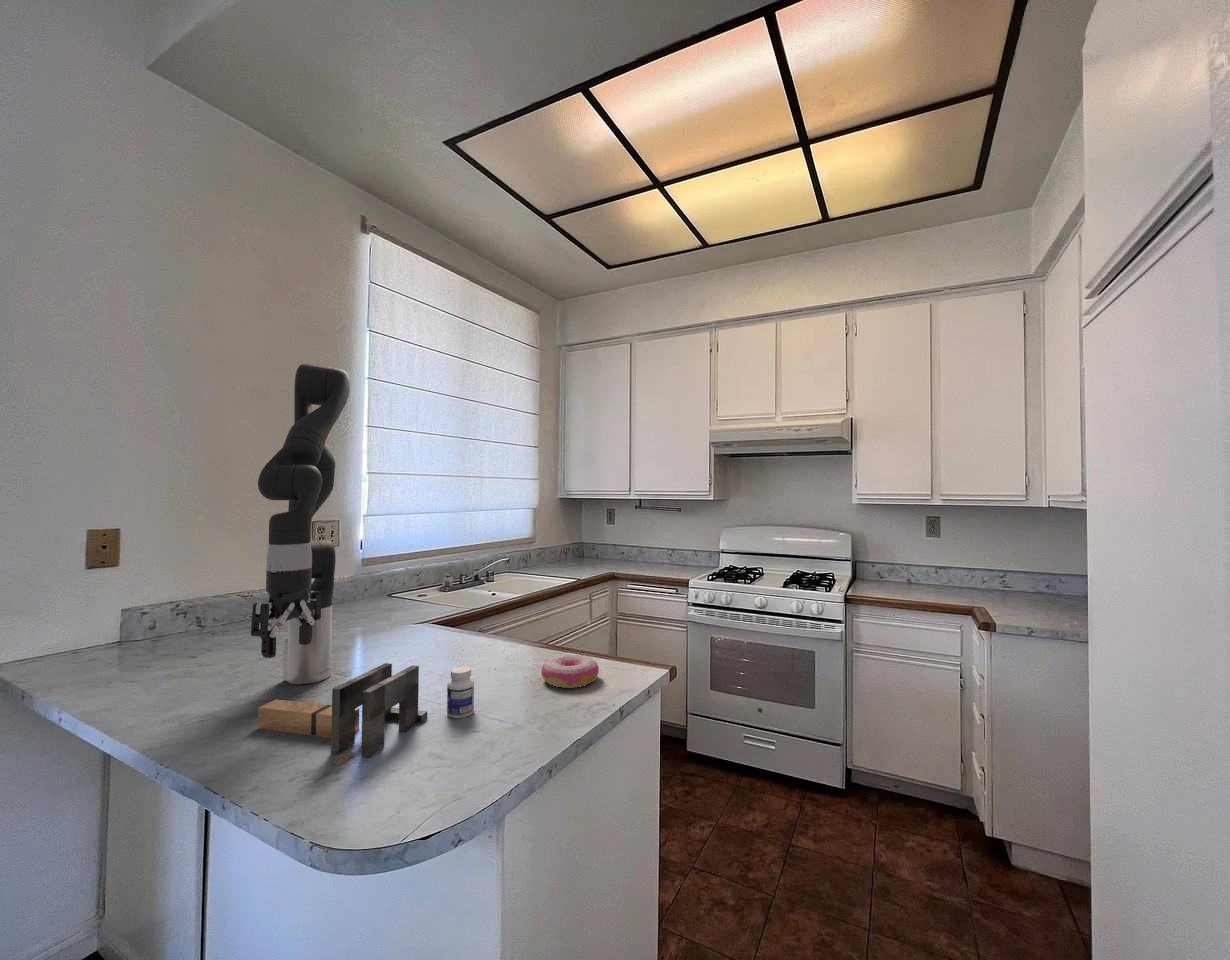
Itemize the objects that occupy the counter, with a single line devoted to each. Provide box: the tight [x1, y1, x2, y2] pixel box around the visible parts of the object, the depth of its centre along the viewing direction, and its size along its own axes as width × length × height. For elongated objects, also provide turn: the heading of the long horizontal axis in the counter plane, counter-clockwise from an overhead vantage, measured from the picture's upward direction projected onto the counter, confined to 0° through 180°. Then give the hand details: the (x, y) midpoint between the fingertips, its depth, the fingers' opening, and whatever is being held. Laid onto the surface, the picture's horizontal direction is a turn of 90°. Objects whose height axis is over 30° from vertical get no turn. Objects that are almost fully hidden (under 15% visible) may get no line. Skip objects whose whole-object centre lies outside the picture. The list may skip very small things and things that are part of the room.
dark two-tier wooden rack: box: [330, 662, 428, 766], centre depth 95 cm, size 9×19×11 cm, turn 167°
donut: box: [540, 654, 600, 689], centre depth 125 cm, size 14×13×5 cm
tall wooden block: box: [257, 699, 360, 738], centre depth 99 cm, size 19×4×4 cm, turn 77°
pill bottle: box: [446, 666, 475, 719], centre depth 106 cm, size 5×5×9 cm
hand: (287, 650), depth 101 cm, fingers open, 8 cm apart
